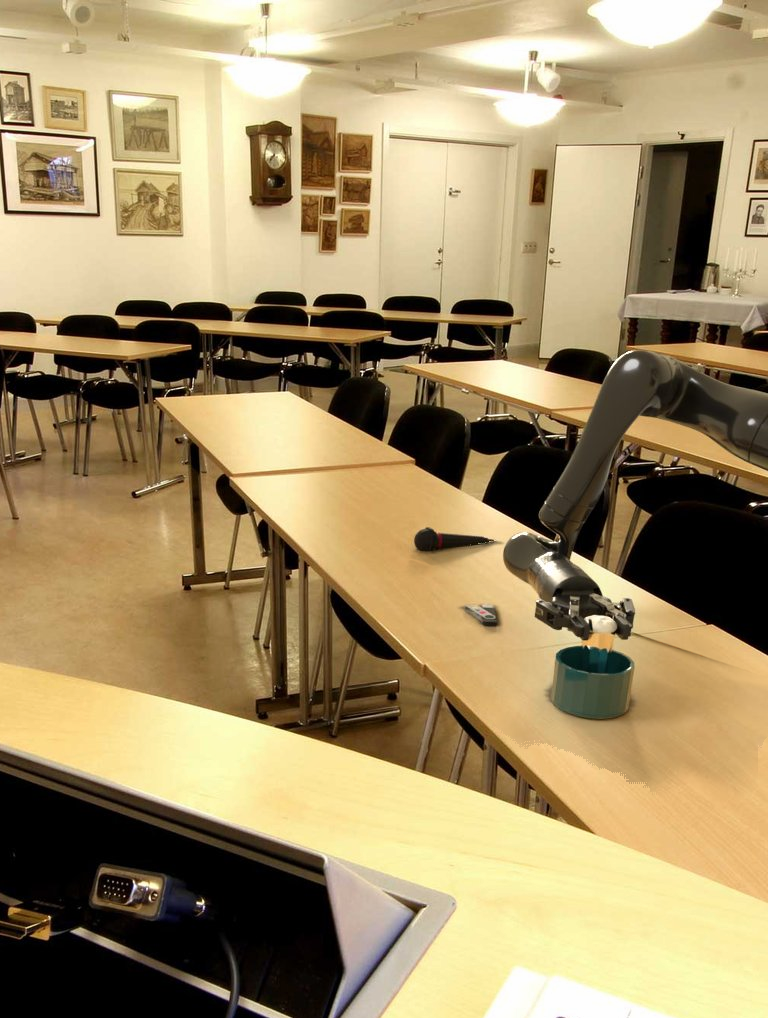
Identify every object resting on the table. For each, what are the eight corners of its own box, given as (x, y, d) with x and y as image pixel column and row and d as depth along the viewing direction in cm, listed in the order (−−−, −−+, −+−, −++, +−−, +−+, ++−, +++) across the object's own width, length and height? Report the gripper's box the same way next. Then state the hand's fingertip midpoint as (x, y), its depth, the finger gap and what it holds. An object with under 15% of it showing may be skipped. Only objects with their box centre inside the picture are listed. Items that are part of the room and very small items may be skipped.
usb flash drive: (496, 627, 155) (497, 621, 154) (465, 625, 156) (465, 620, 155) (494, 608, 162) (494, 603, 162) (464, 607, 163) (464, 602, 163)
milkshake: (567, 681, 126) (573, 615, 122) (585, 668, 130) (592, 603, 126) (598, 690, 123) (606, 623, 119) (616, 676, 127) (624, 610, 123)
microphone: (492, 555, 202) (409, 554, 197) (492, 529, 202) (410, 527, 197) (505, 555, 197) (421, 553, 192) (506, 528, 196) (421, 526, 191)
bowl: (581, 680, 134) (586, 640, 132) (643, 705, 126) (650, 662, 124) (535, 698, 129) (540, 657, 127) (597, 725, 121) (603, 681, 119)
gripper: (520, 568, 135) (555, 608, 120) (617, 566, 135) (665, 606, 119) (516, 615, 138) (549, 660, 122) (611, 613, 138) (656, 658, 122)
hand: (606, 633), depth 121 cm, fingers closed on milkshake, 4 cm apart
